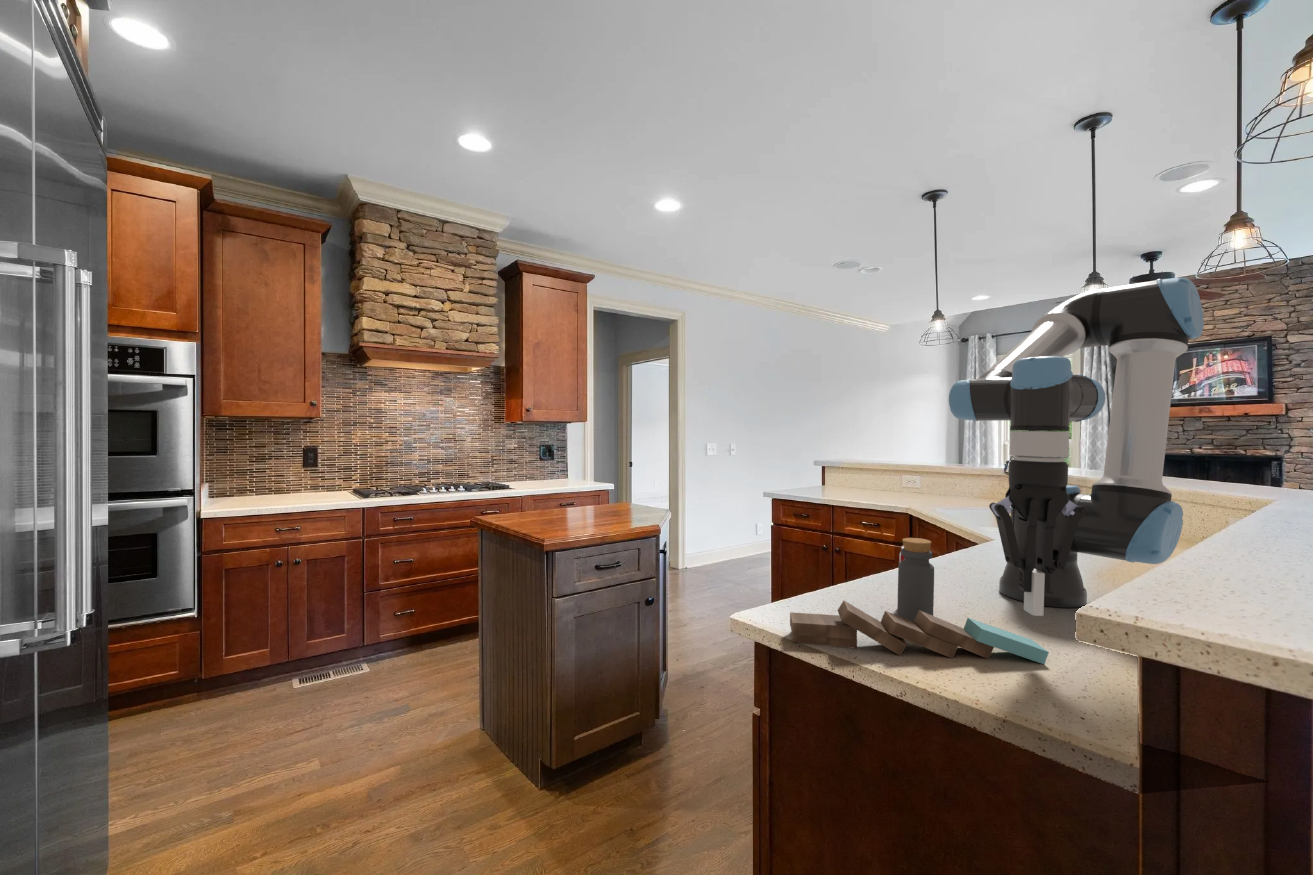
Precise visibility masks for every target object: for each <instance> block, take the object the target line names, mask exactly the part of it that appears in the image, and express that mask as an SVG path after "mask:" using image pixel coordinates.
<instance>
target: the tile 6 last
mask: <svg viewBox="0 0 1313 875" xmlns="http://www.w3.org/2000/svg"><path fill="white" fill-rule="evenodd" d="M791 638H792V640H791V641H792V643H799V644H800V643H801V644H809V645H810V644H811V645H819V646H820V645H821V646H830V647H831V646H832V647H840V648H841V647H842V648H849V647H854V648H853V649H858V638H857V639H844V638H830V637H815V636H801V635H791Z"/></svg>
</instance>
